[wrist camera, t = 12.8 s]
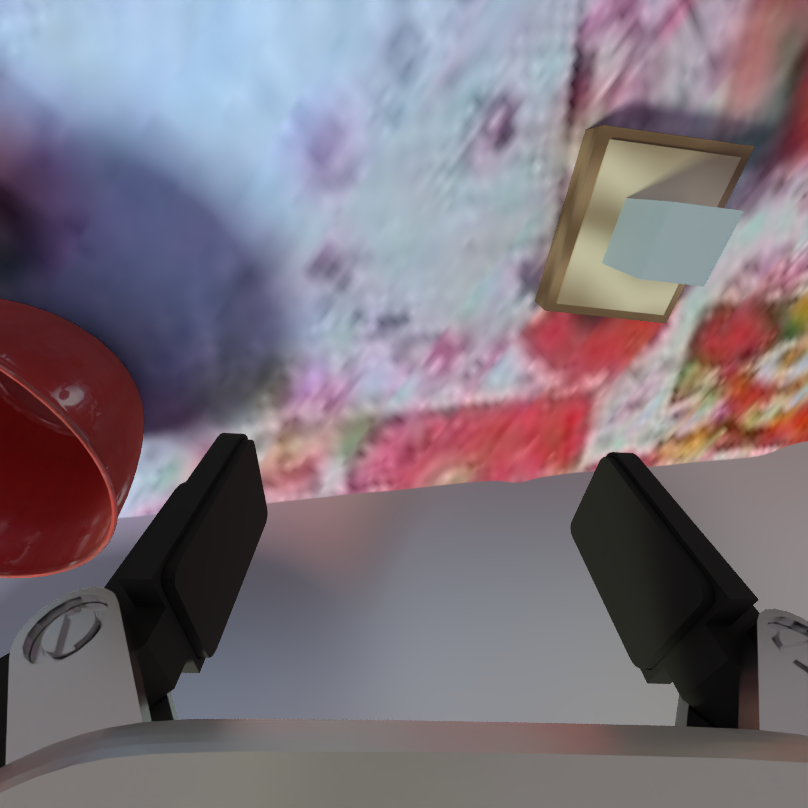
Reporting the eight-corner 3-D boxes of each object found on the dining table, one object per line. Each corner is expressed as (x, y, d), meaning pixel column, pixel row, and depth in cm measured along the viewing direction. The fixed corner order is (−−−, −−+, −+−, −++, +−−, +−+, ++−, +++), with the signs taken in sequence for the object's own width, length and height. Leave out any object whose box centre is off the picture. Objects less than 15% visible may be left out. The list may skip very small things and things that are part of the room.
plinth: (585, 129, 29) (605, 124, 27) (725, 149, 30) (757, 146, 27) (534, 301, 37) (545, 311, 34) (647, 313, 37) (667, 324, 35)
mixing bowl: (10, 172, 31) (-282, 166, 18) (251, 411, 44) (185, 510, 30) (-136, 339, 39) (-415, 421, 25) (104, 500, 51) (2, 610, 38)
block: (625, 198, 29) (673, 201, 24) (684, 205, 29) (744, 210, 24) (601, 263, 32) (639, 279, 27) (655, 269, 32) (704, 286, 27)
